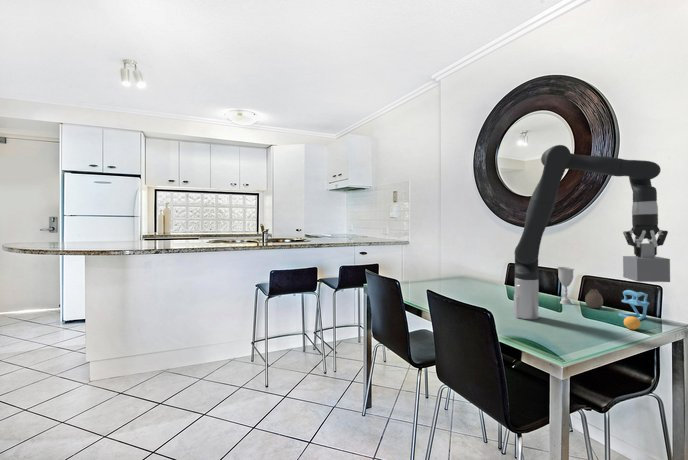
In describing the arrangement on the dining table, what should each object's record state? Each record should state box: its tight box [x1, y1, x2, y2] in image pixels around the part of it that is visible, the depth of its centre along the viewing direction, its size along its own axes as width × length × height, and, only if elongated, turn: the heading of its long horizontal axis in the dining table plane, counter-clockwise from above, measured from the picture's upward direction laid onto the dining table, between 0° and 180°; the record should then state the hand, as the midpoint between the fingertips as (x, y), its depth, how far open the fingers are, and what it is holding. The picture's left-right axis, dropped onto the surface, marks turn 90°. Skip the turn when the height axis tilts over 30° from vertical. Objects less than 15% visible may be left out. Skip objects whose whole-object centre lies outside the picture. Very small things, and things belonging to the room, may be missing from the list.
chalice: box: [557, 266, 575, 305], centre depth 166 cm, size 7×7×18 cm
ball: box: [623, 316, 642, 330], centre depth 127 cm, size 5×5×5 cm
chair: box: [618, 289, 650, 321], centre depth 141 cm, size 8×8×12 cm
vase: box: [584, 288, 604, 309], centre depth 157 cm, size 7×7×9 cm
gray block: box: [622, 242, 671, 283], centre depth 129 cm, size 10×10×14 cm
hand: (645, 256), depth 129 cm, fingers closed on gray block, 4 cm apart
